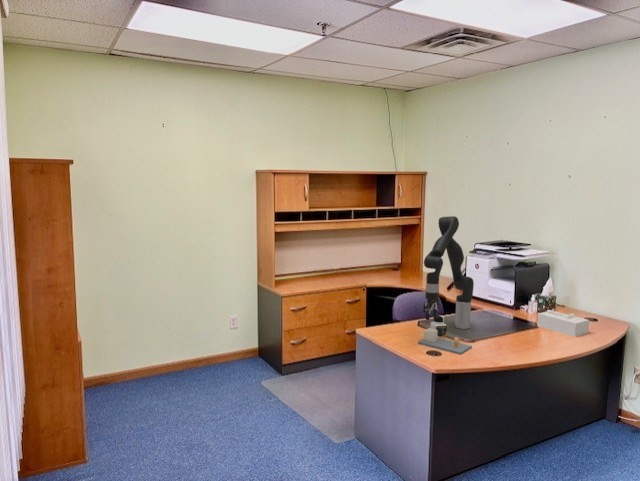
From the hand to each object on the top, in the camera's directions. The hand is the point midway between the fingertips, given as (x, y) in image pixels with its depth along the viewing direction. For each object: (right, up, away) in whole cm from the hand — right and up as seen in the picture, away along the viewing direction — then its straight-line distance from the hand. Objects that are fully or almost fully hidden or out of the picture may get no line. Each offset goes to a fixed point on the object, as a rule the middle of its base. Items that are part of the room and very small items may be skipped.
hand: (431, 318), depth 275 cm
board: (+7, -15, -4) cm, 17 cm away
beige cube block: (0, -13, +2) cm, 13 cm away
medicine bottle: (+8, -13, +15) cm, 21 cm away
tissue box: (+90, -12, +27) cm, 95 cm away
